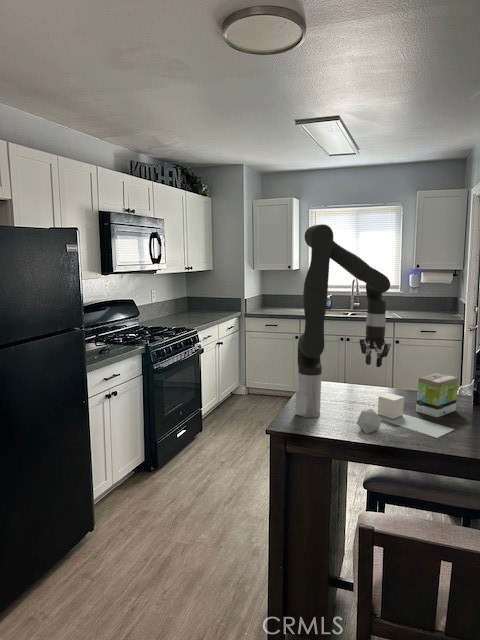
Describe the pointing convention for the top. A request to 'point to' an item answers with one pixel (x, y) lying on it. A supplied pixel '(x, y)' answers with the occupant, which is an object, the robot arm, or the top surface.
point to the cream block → (390, 406)
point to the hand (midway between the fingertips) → (373, 365)
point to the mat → (420, 425)
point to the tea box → (437, 394)
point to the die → (369, 421)
